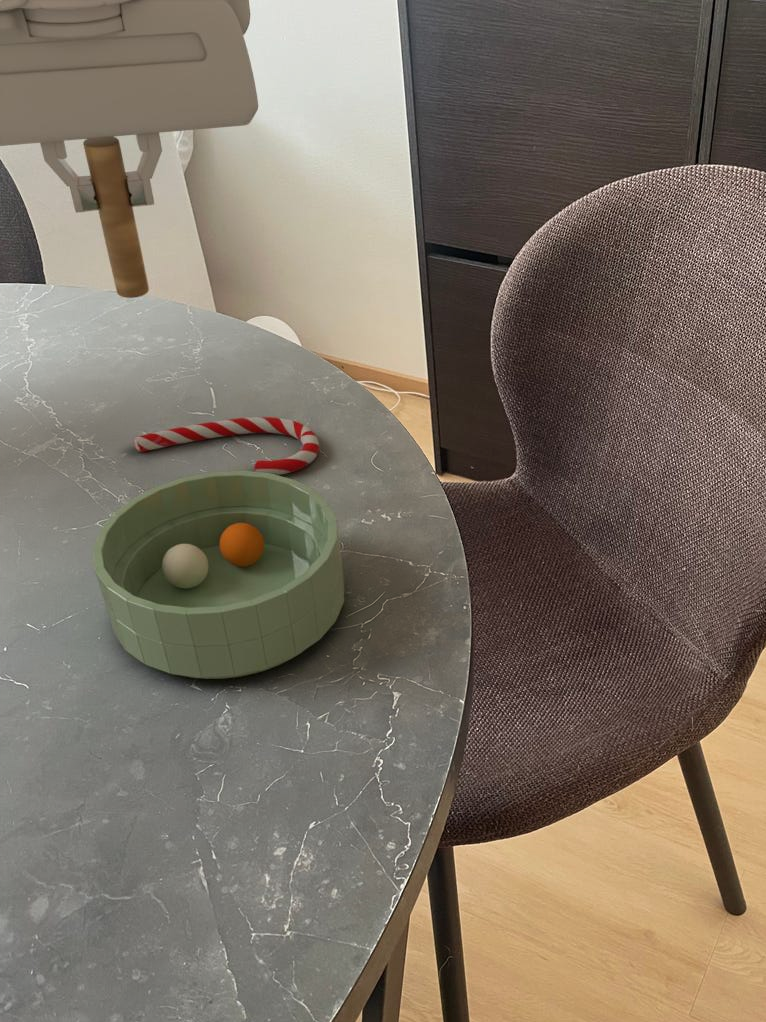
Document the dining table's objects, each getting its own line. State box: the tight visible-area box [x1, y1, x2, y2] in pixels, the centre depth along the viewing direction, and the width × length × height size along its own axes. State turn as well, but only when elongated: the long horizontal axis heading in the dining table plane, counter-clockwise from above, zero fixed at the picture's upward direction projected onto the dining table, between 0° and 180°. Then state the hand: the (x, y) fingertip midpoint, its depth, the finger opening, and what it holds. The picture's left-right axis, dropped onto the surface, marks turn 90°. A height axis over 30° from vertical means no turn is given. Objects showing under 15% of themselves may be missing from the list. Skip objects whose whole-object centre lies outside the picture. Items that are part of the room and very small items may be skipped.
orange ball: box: [220, 523, 264, 567], centre depth 72 cm, size 3×3×3 cm
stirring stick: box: [82, 136, 150, 299], centre depth 70 cm, size 2×2×10 cm
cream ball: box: [162, 544, 208, 589], centre depth 70 cm, size 3×3×3 cm
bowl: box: [91, 470, 345, 680], centre depth 68 cm, size 15×15×6 cm
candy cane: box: [133, 416, 320, 476], centre depth 84 cm, size 8×1×15 cm
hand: (114, 206), depth 69 cm, fingers closed on stirring stick, 2 cm apart
